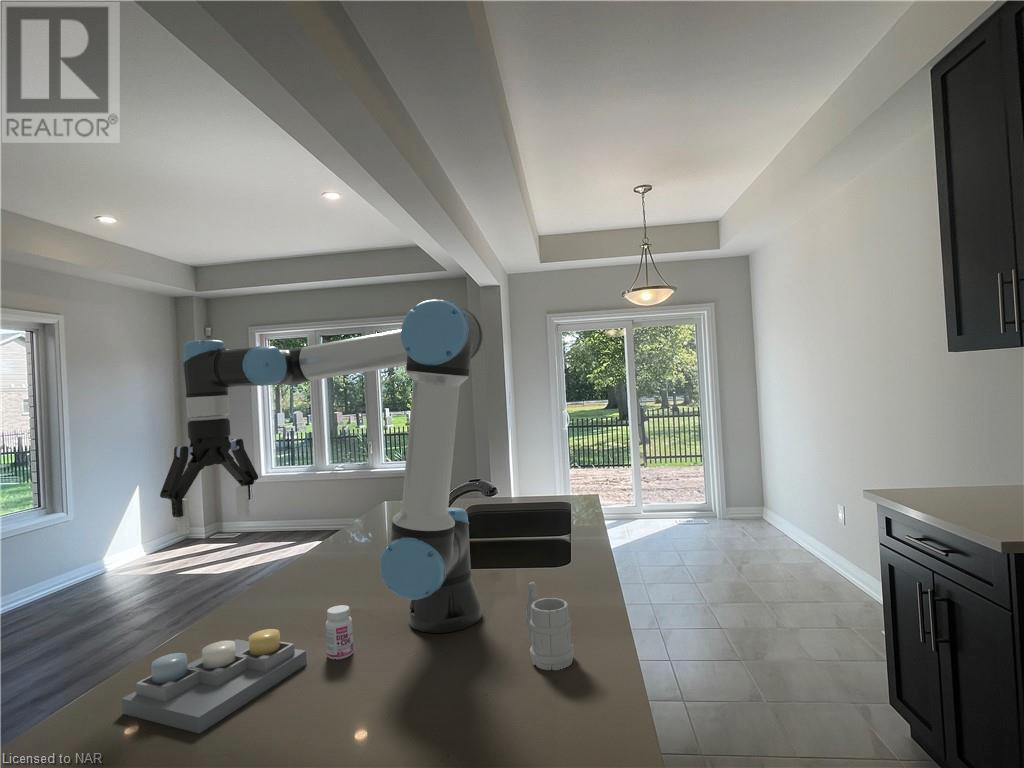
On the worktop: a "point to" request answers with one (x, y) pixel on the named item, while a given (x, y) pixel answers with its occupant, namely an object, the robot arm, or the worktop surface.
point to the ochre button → (264, 642)
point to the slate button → (169, 667)
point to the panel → (212, 688)
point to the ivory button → (218, 654)
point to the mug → (549, 631)
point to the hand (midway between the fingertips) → (215, 524)
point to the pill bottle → (339, 632)
